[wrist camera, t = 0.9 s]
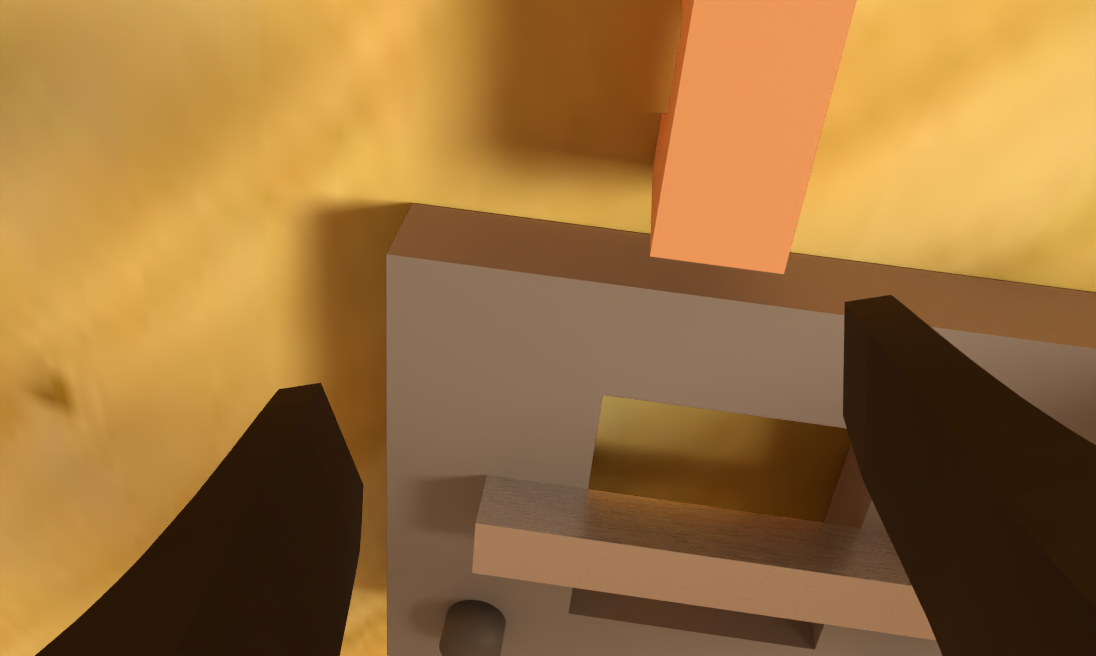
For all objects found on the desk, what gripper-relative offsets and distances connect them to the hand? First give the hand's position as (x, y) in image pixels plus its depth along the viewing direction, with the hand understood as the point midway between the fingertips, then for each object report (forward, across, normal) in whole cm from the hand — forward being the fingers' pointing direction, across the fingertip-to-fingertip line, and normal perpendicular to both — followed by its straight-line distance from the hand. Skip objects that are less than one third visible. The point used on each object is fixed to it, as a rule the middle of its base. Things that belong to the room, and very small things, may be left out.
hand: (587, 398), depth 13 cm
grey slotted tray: (+12, -3, +14) cm, 19 cm away
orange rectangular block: (+13, -4, +1) cm, 14 cm away
